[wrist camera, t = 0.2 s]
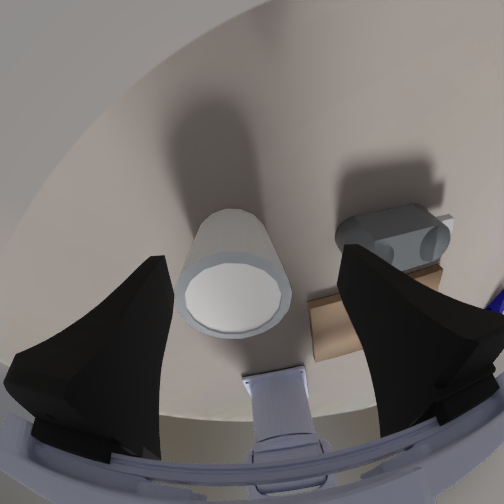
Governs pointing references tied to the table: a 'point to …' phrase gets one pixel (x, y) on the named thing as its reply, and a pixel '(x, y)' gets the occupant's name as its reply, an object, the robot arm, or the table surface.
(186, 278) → the white cup
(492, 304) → the cable clip
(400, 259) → the connector plug
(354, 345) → the walnut board
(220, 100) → the table surface
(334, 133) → the table surface
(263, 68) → the table surface
